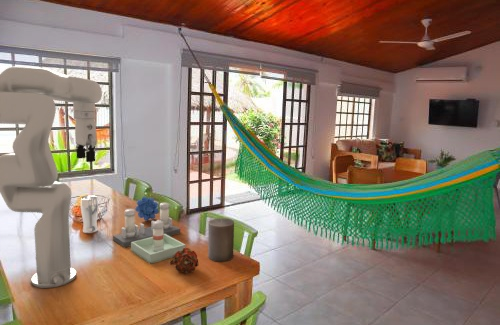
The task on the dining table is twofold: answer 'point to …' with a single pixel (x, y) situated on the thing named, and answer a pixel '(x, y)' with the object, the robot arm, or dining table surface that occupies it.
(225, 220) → the pillar candle
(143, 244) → the tray
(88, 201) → the beer glass
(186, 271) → the dark red rosette
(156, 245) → the cylinder
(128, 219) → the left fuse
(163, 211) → the ball
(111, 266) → the dining table surface
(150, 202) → the grapes
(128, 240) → the fuse holder
